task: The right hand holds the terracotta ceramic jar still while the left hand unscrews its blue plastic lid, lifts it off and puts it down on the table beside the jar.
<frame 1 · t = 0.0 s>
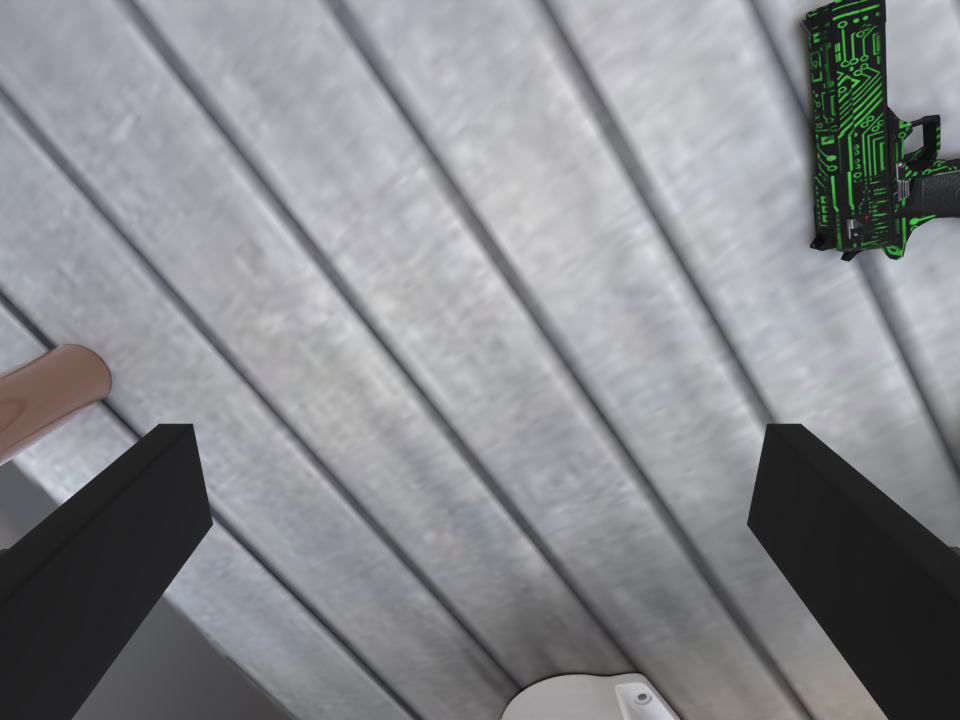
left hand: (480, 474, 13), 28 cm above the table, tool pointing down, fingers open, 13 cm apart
handgun: (902, 131, 36), on the table
jar: (77, 375, 42), on the table
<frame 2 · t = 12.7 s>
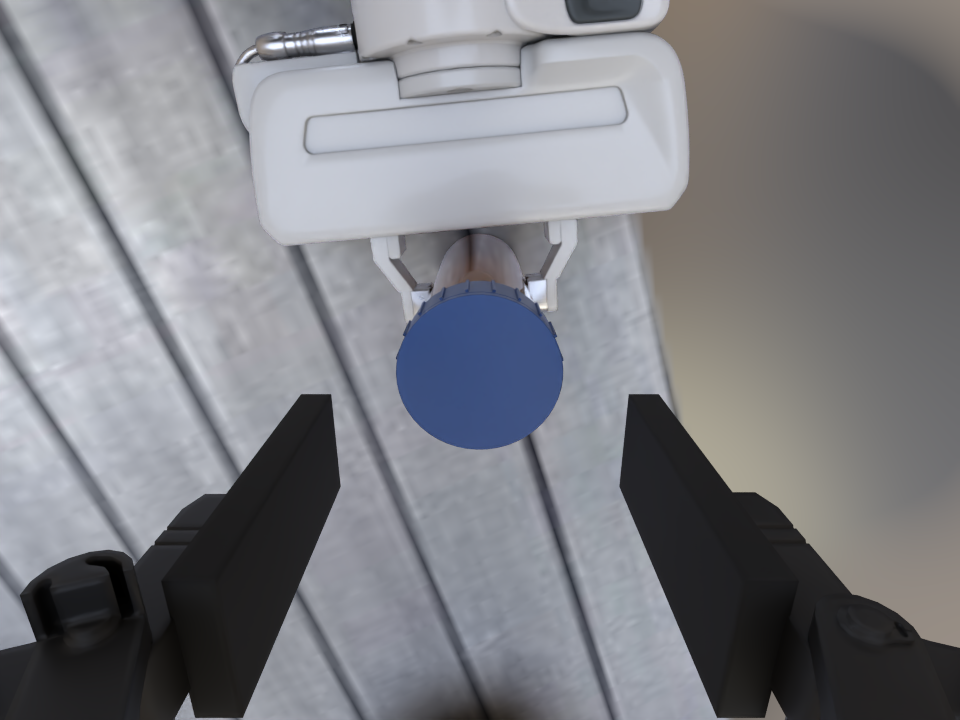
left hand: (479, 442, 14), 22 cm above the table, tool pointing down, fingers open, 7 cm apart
right hand: (482, 315, 29), fingers closed on jar, 5 cm apart
lid: (479, 372, 19), point 17 cm above the table, screwed on, not yet turned
jar: (480, 273, 35), on the table, touching right hand
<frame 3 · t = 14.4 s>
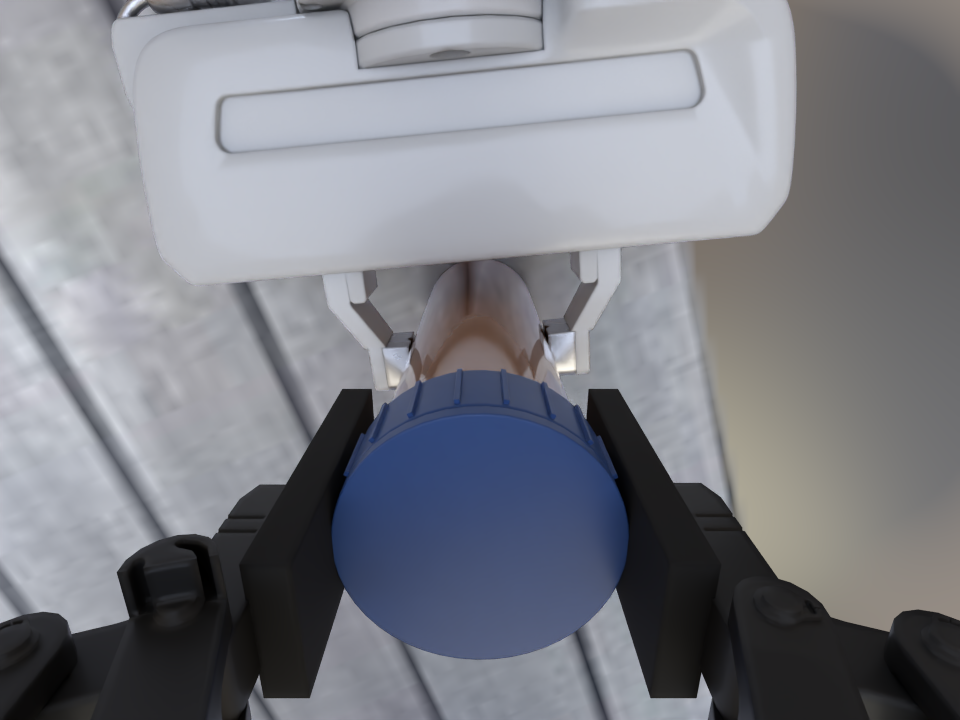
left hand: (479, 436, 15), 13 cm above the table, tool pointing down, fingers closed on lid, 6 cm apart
right hand: (483, 377, 21), fingers closed on jar, 5 cm apart
lid: (480, 536, 11), point 17 cm above the table, screwed on, not yet turned, touching left hand
jar: (480, 309, 27), on the table, touching right hand
when the left hand's fingers open (13 cm above the table, at t = 15.7 s): lid stays where it is, point 17 cm above the table.
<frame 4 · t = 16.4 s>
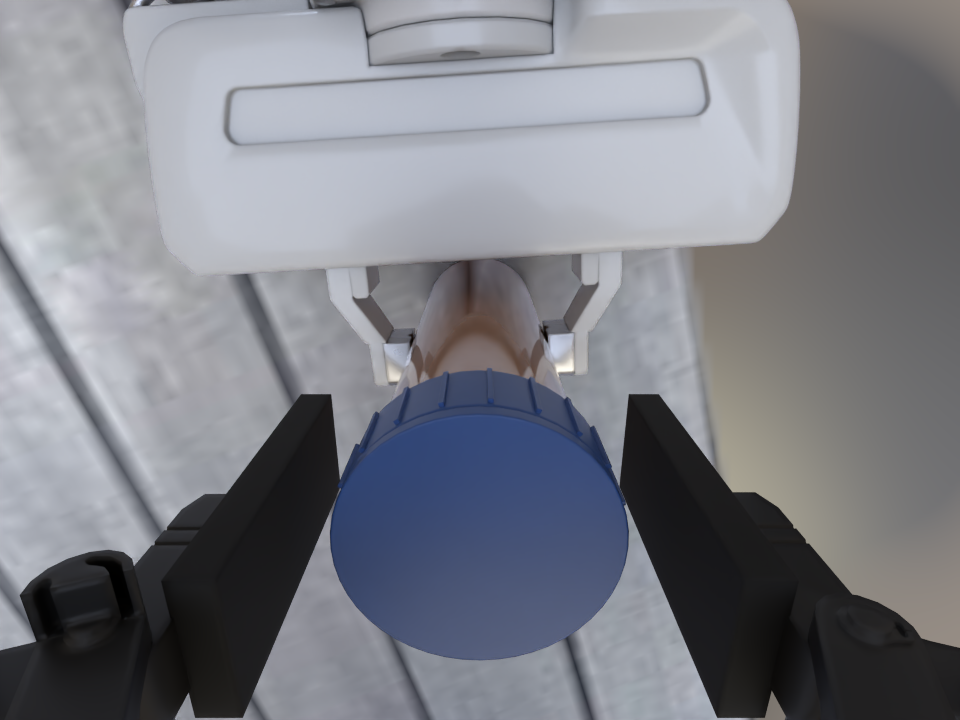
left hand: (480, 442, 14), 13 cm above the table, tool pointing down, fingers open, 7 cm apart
right hand: (482, 375, 21), fingers closed on jar, 5 cm apart
lid: (479, 537, 11), point 17 cm above the table, turned 79° so far, risen 0.2 cm, still on its thread
jar: (479, 308, 27), on the table, touching right hand
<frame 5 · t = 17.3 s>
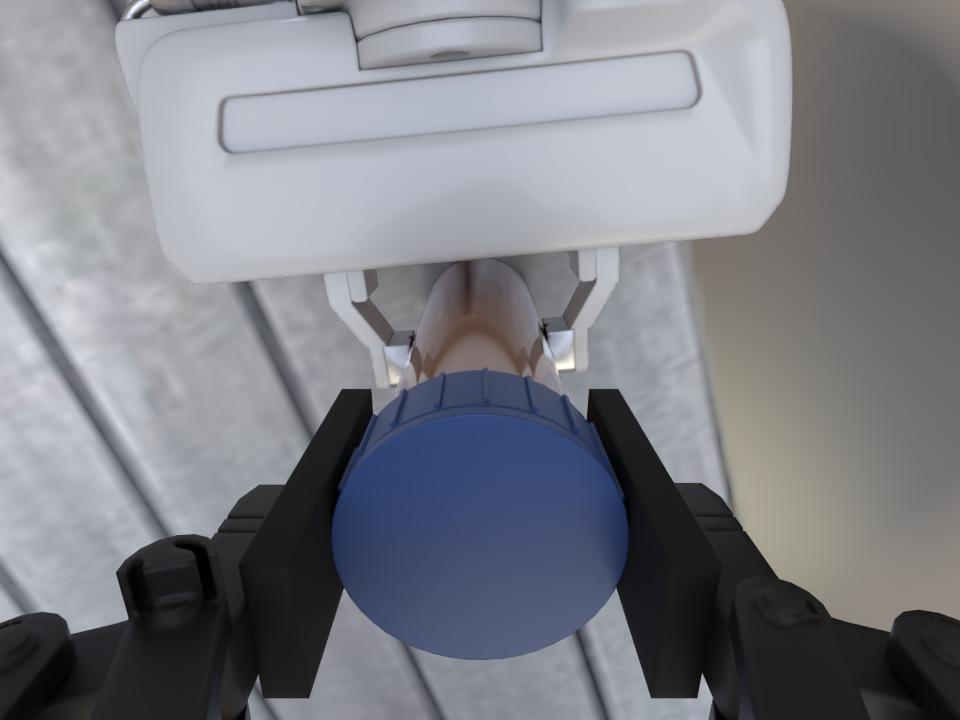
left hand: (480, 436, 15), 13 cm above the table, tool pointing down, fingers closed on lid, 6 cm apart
right hand: (483, 375, 21), fingers closed on jar, 5 cm apart
lid: (480, 536, 11), point 17 cm above the table, turned 79° so far, risen 0.2 cm, still on its thread, touching left hand
jar: (480, 308, 27), on the table, touching right hand
when the left hand's fingers open (0 cm above the table, at t = 24.0 s): lid drops 2 cm, point 2 cm above the table.
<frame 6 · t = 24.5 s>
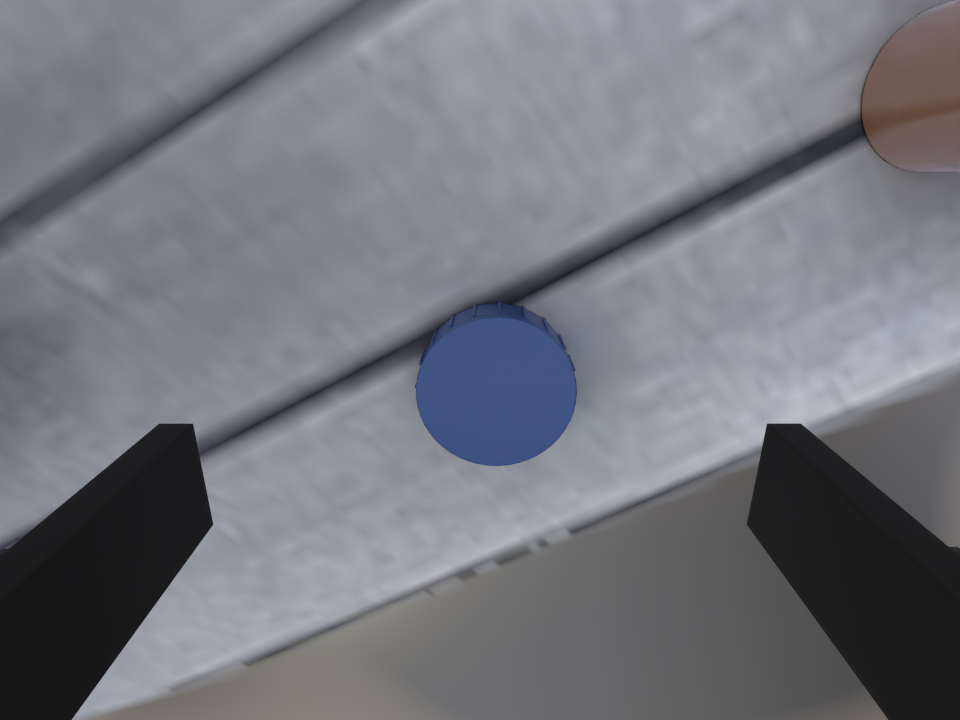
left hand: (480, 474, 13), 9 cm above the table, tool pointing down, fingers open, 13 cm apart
lid: (496, 391, 20), point 2 cm above the table, off its thread
jar: (940, 90, 18), on the table, touching right hand
when the right hand's fingers open (7 cm above the table, at t = 24.7 s): jar stays where it is, on the table.
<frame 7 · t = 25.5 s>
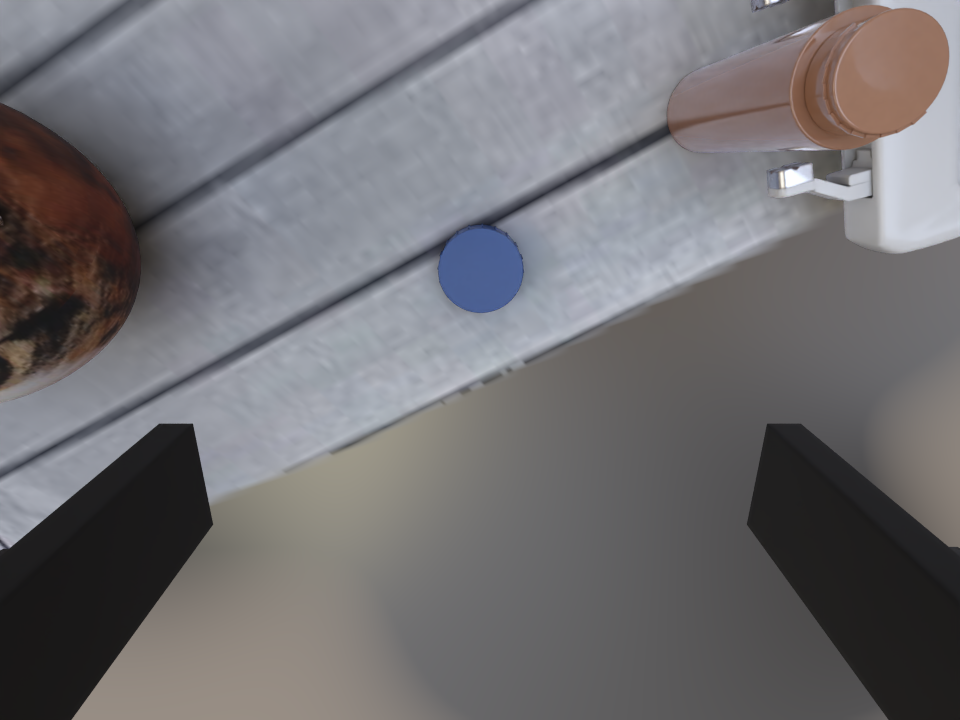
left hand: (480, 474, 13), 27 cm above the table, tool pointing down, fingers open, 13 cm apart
lid: (480, 270, 37), point 2 cm above the table, off its thread
plush toy: (35, 228, 38), on the table
jar: (706, 110, 35), on the table
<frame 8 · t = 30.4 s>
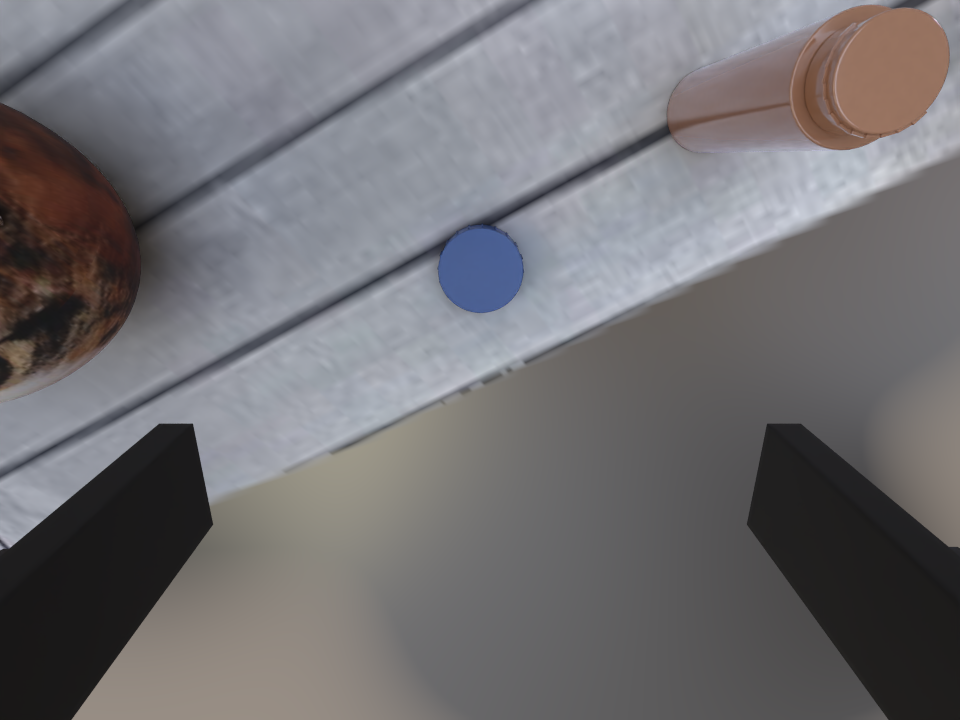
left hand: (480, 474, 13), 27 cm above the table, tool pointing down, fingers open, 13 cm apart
lid: (480, 270, 37), point 2 cm above the table, off its thread
plush toy: (35, 228, 38), on the table
jar: (706, 110, 35), on the table
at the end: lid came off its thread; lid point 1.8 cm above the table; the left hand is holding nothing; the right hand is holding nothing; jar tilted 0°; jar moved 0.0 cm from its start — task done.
